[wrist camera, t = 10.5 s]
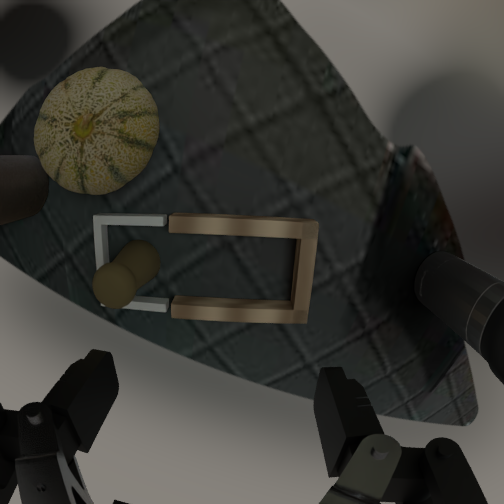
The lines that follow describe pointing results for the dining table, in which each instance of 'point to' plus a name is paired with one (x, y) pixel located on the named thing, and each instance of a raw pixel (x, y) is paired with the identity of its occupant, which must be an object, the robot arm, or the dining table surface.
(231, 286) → the dining table surface
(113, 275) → the olive gourd
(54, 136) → the cantaloupe
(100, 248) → the grey u-shaped staple
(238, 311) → the oak channel
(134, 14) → the dining table surface
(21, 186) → the pillar candle
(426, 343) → the dining table surface
